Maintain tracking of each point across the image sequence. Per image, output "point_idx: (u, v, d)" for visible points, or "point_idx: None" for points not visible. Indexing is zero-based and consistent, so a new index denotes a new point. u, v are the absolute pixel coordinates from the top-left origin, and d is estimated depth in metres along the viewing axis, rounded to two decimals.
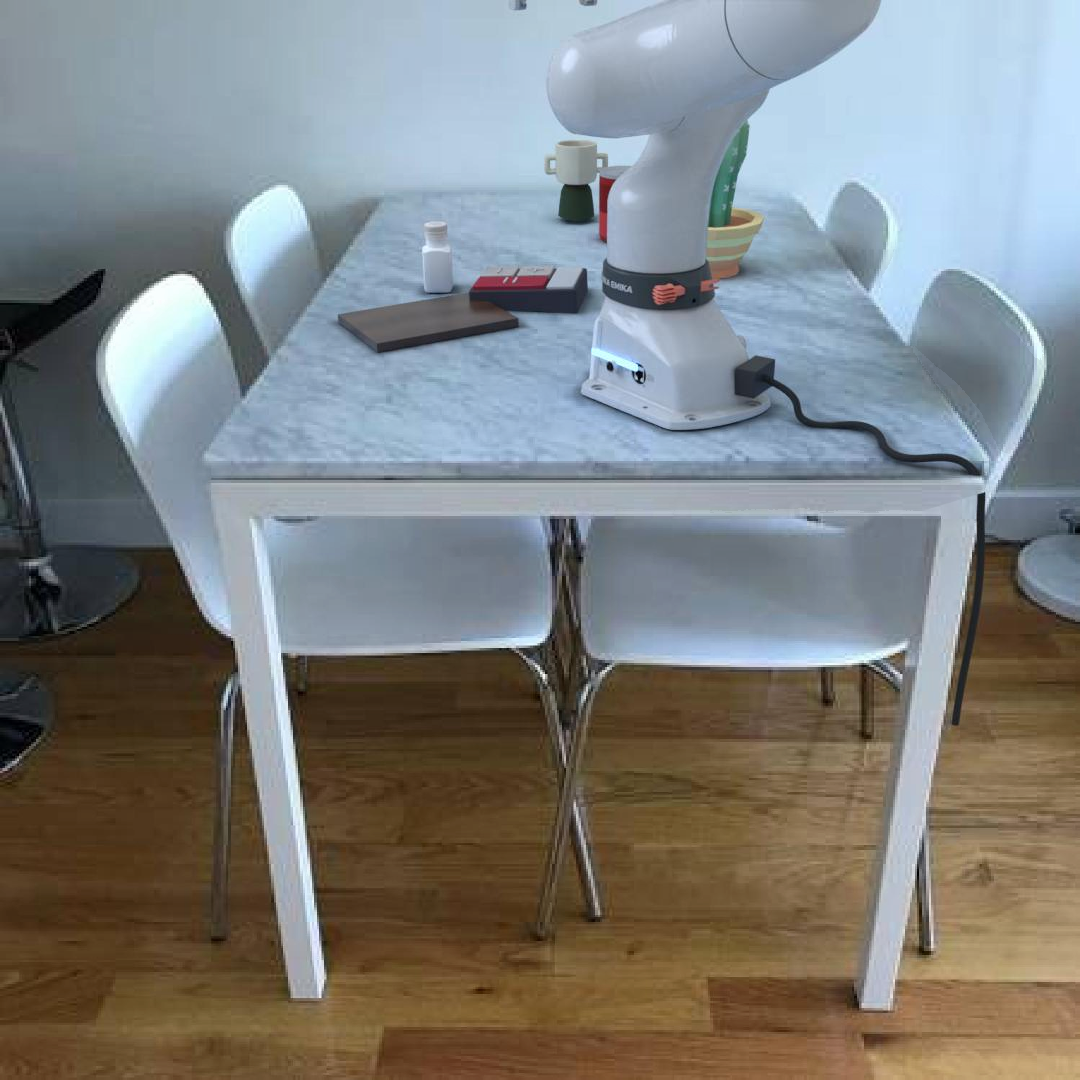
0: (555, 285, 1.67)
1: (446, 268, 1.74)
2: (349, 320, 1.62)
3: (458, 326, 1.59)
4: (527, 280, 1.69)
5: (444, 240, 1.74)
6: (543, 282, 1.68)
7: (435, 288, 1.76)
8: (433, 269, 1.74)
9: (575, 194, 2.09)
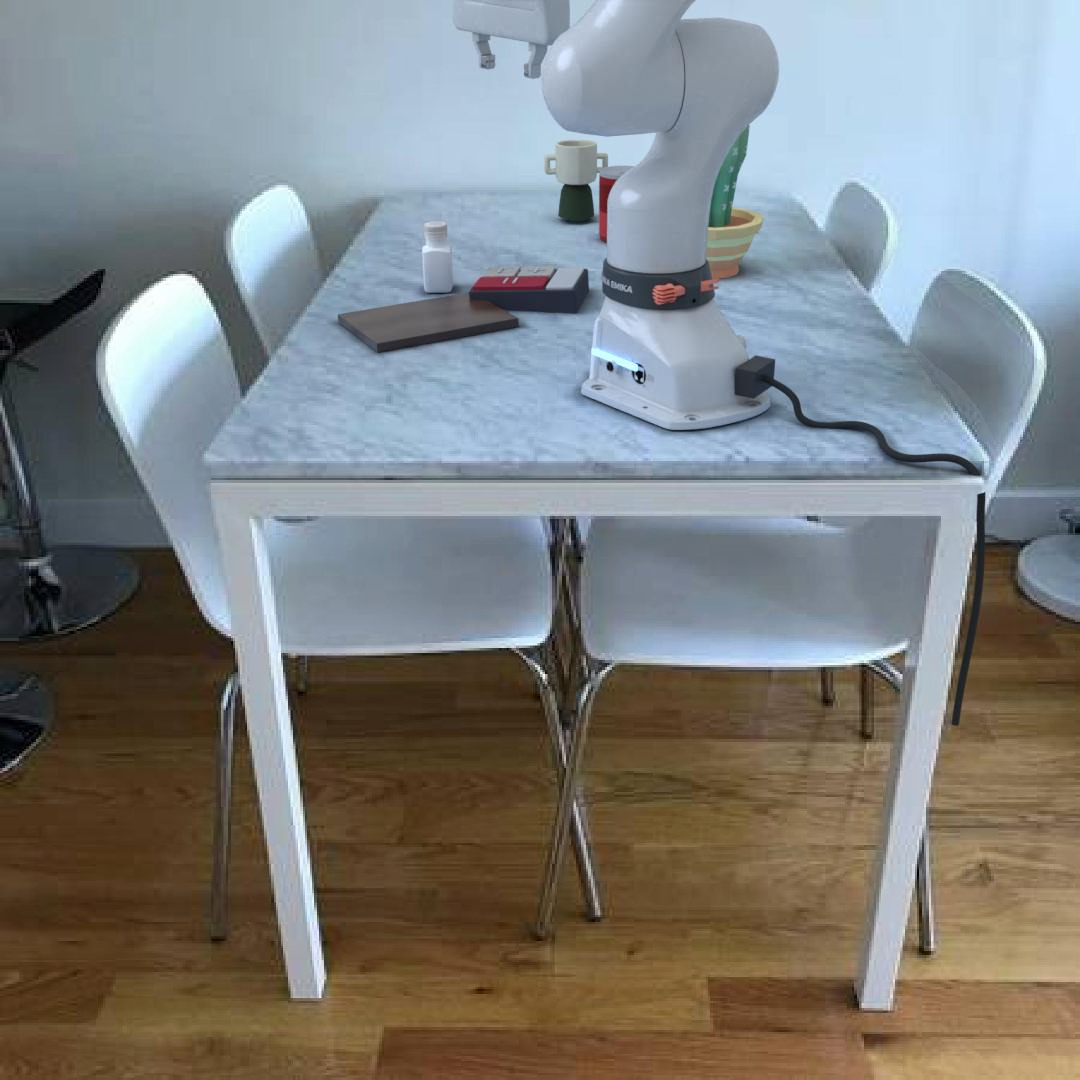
0: (554, 286, 1.67)
1: (446, 268, 1.74)
2: (349, 320, 1.62)
3: (458, 326, 1.59)
4: (527, 280, 1.69)
5: (444, 240, 1.74)
6: (543, 282, 1.68)
7: (435, 288, 1.76)
8: (433, 269, 1.74)
9: (575, 194, 2.09)
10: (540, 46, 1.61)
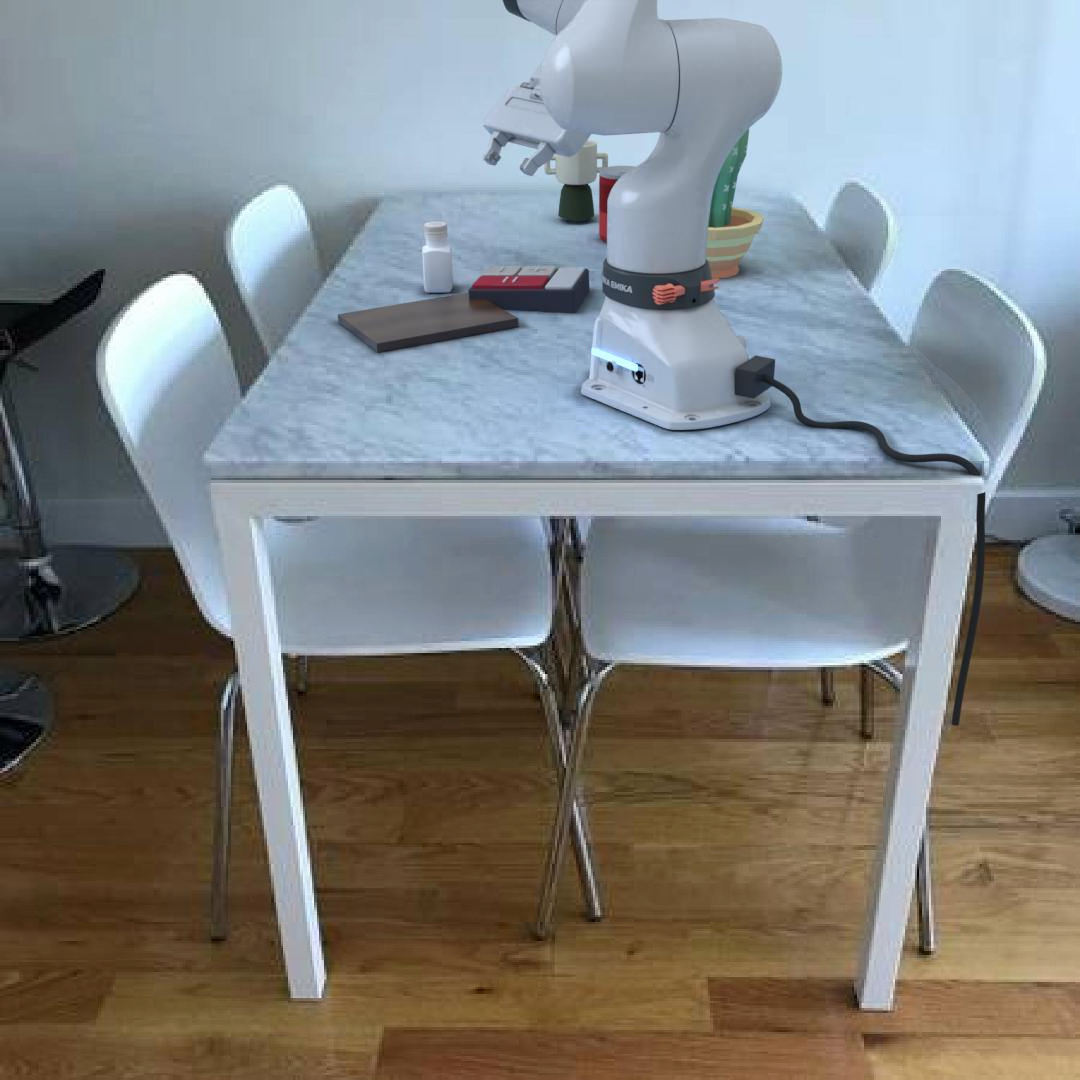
0: (553, 286, 1.67)
1: (446, 268, 1.74)
2: (349, 320, 1.62)
3: (458, 326, 1.59)
4: (527, 280, 1.70)
5: (444, 240, 1.74)
6: (542, 282, 1.68)
7: (435, 288, 1.76)
8: (433, 269, 1.74)
9: (575, 194, 2.09)
10: (548, 149, 1.72)
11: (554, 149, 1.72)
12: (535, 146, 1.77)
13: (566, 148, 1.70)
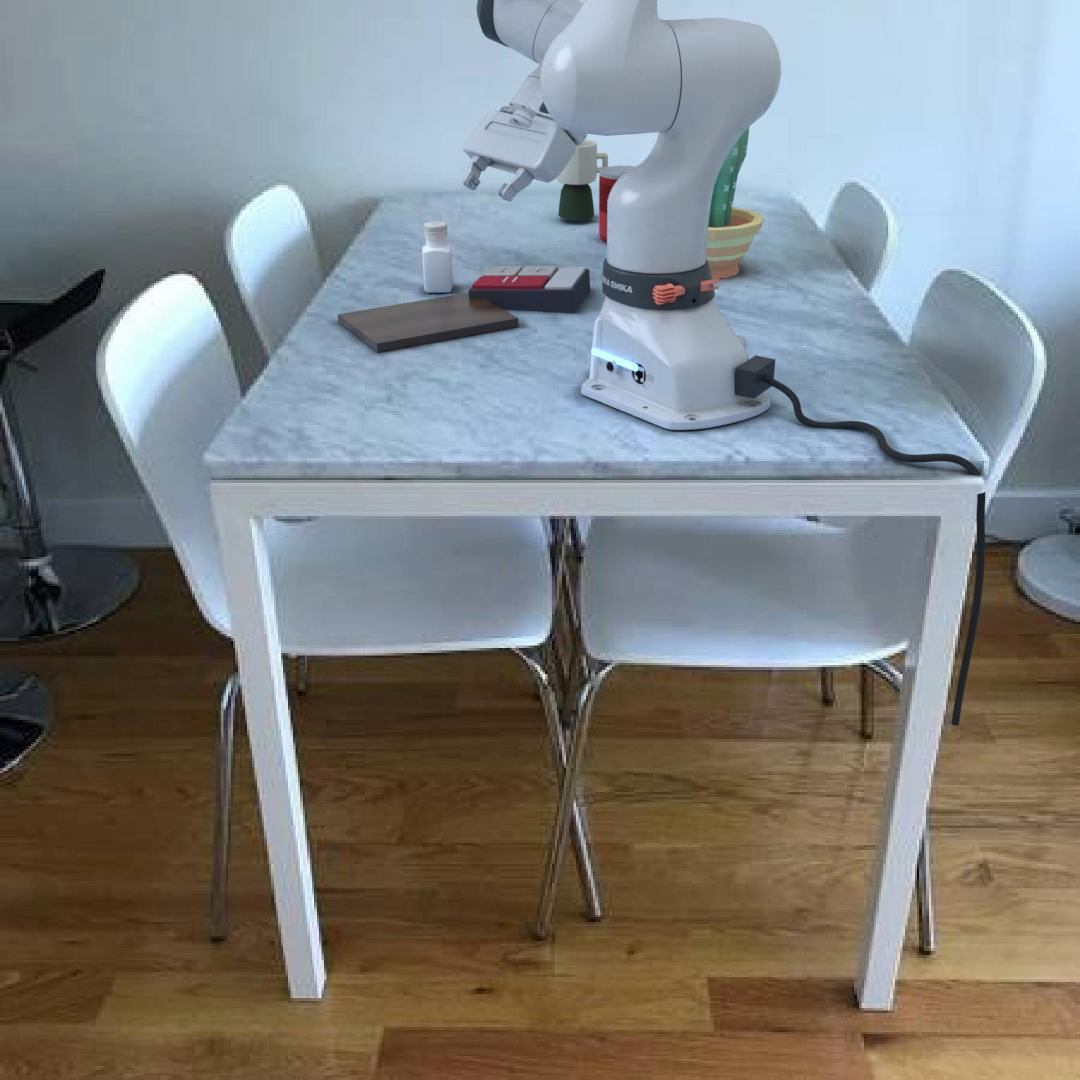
0: (553, 286, 1.67)
1: (446, 268, 1.74)
2: (349, 320, 1.62)
3: (458, 326, 1.59)
4: (527, 280, 1.70)
5: (444, 240, 1.74)
6: (542, 282, 1.68)
7: (435, 288, 1.76)
8: (433, 269, 1.74)
9: (575, 194, 2.09)
10: (527, 175, 1.72)
11: (533, 175, 1.72)
12: (514, 171, 1.76)
13: (545, 174, 1.69)
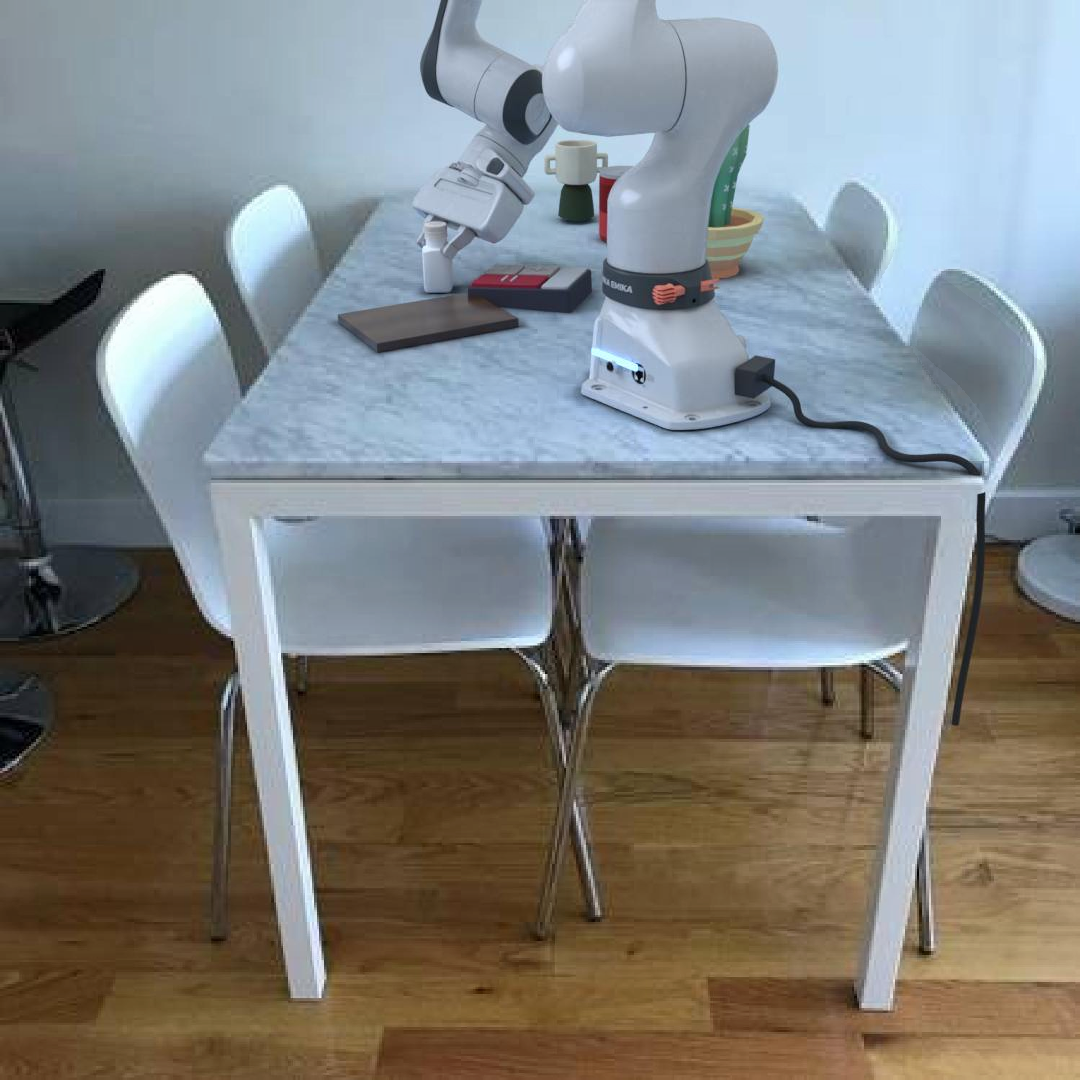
0: (550, 285, 1.67)
1: (446, 268, 1.74)
2: (349, 320, 1.62)
3: (458, 326, 1.59)
4: (525, 279, 1.70)
5: (444, 240, 1.74)
6: (539, 281, 1.69)
7: (435, 288, 1.76)
8: (433, 269, 1.74)
9: (575, 194, 2.09)
10: (467, 233, 1.71)
11: (480, 235, 1.70)
12: None
13: (491, 235, 1.68)
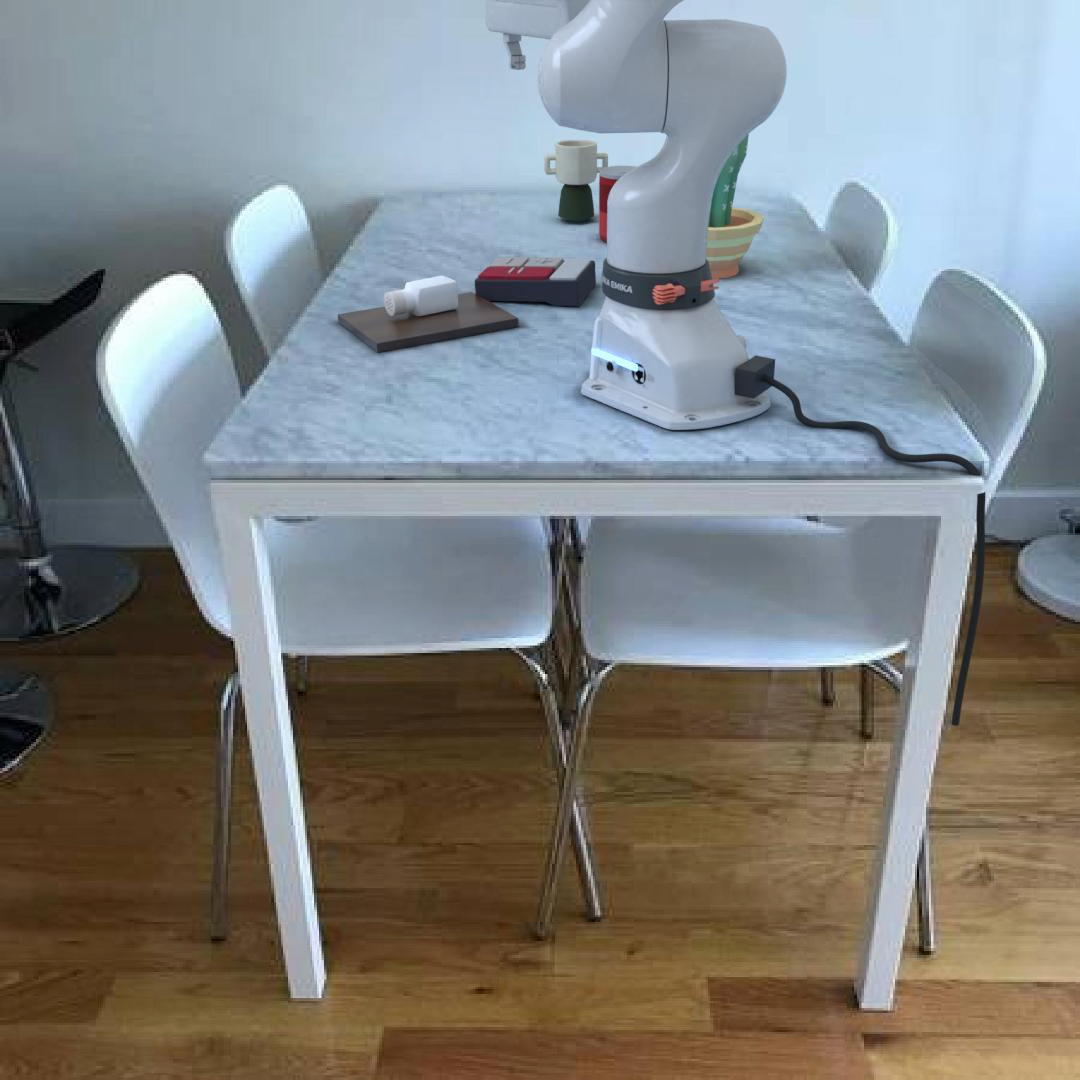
0: (558, 276, 1.69)
1: (435, 289, 1.62)
2: (349, 320, 1.62)
3: (458, 326, 1.59)
4: (532, 271, 1.72)
5: (406, 293, 1.61)
6: (547, 273, 1.70)
7: (453, 298, 1.64)
8: (436, 303, 1.63)
9: (575, 194, 2.09)
10: None
11: None
12: None
13: None
